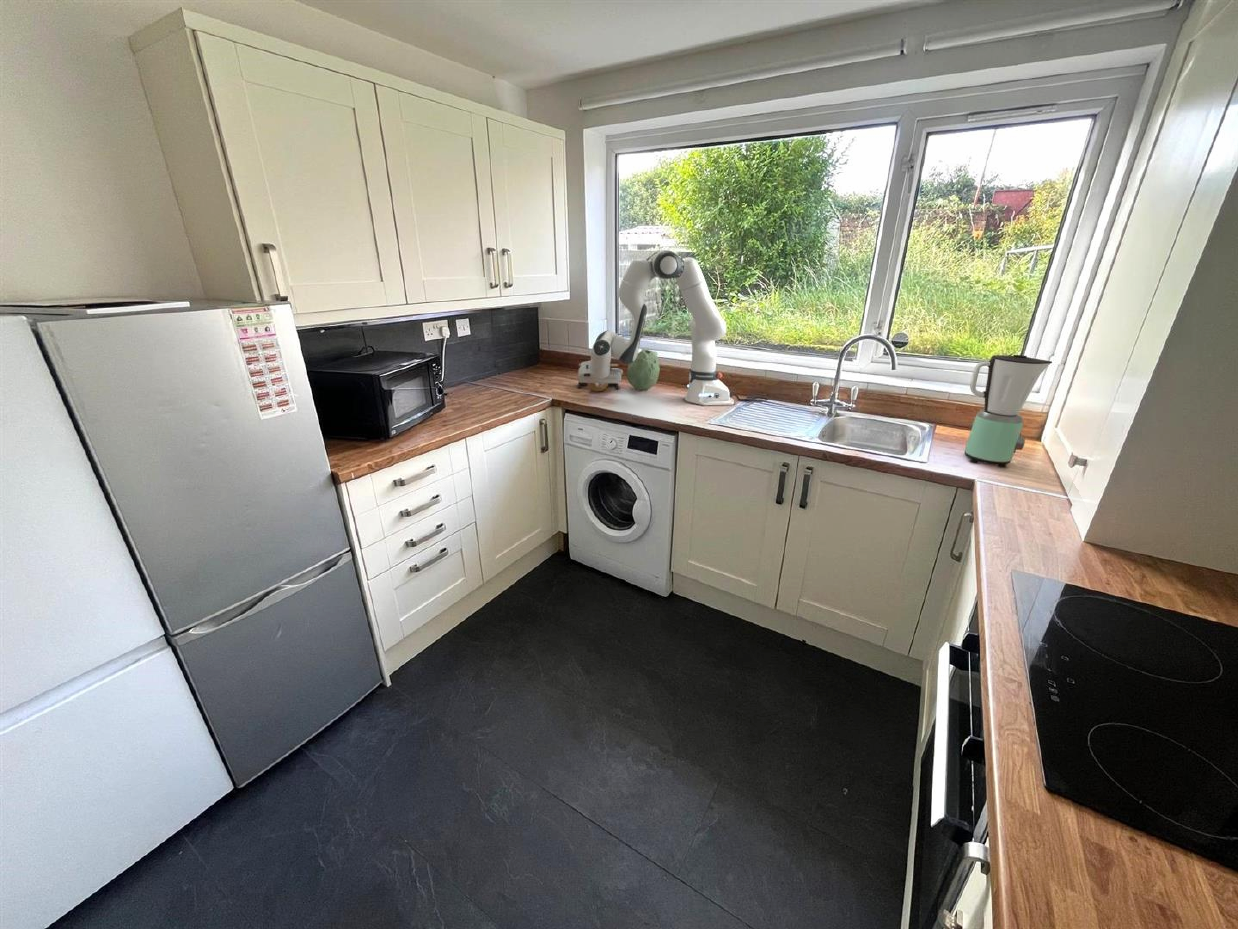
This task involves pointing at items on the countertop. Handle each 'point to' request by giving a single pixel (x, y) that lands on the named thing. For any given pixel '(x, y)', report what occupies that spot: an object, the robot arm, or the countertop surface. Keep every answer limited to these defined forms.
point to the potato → (594, 388)
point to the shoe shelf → (608, 383)
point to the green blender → (1002, 407)
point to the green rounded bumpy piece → (644, 370)
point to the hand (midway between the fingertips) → (599, 385)
